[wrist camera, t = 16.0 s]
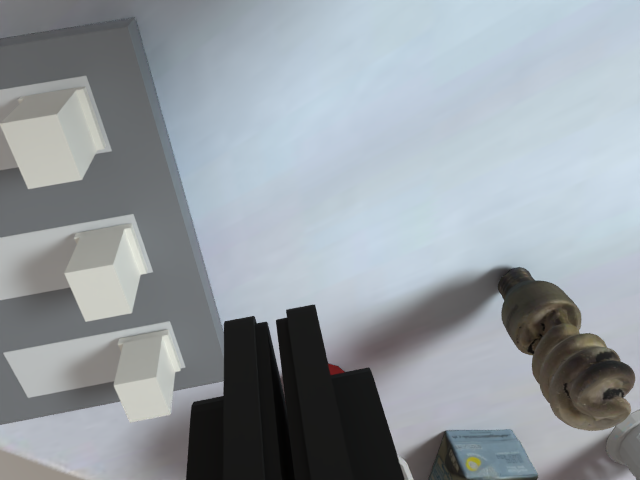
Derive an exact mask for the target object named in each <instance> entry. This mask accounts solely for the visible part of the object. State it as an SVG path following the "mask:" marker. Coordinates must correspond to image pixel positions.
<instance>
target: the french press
mask: <svg viewBox="0 0 640 480" xmlns="http://www.w3.org/2000/svg"><path fill="white" fill-rule="evenodd" d="M606 452H607V454H608V456H609V458H610V459H611V460H613V461H615V462H617V463H619V464H622V465H626V466H628V467H629V470H630V471H631V473H632V474H633V475H634V476H635V477H636V480H640V410H638V411H636V412H634V413H632V414H630V415H629V416H628V417H627V418H626V419H625V420H624V421H623V422H621V423H620V424H618V425H617V426H616V427H615V428H614V430H613V431H612V433H611V434H610V436H609V437H608V439H607V445H606Z"/></svg>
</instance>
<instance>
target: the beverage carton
mask: <svg viewBox="0 0 640 480" xmlns="http://www.w3.org/2000/svg"><path fill="white" fill-rule="evenodd" d="M537 478H538V474H537V472H536V470H535V468H534V467H533V465H532V463H531V462H530V460H529V458H528V456H527V454H526V452H525V450H524V448H523V447H522V445H521V442H520V441H519V440H518V439H517V438H516V436H515V435H514V433H513V431H512V430H510V429H506V430H461V431H460V430H455V431H446V432H445V434H444V437H443V440H442V443H441V446H440V448H439V451H438V454H437V457H436V459H435V462H434V465H433V468H432V471H431V474H430V477H429V480H537Z"/></svg>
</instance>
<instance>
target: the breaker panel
mask: <svg viewBox="0 0 640 480" xmlns="http://www.w3.org/2000/svg"><path fill="white" fill-rule="evenodd" d="M84 86H86V89H87V92H88V95H89V98H90V101H91V104H92V106H93V109H94V112H95V115H96V118H97V121H98V124H99V127H100V130H101V133H102V135H103V138H104V141H105V144H106V146H105V148H104V149H102V150H97V152H96V154H95V156H94V158H93V160H92V162H91V163H90V165H89V167H88V169H87V171H86V173H85V175H84V177H83V179H82V180H78V181H73V182H67V183H61V184H55V185H50V186H44V187H38V188H32V189H28V188H27V185H26V183H25V181H24V178H23V176H22V174H21V172H20V169H19V167H18V165H17V163H16V160H15V158H14V156H13V153H12V151H11V149H10V147H9V144H8V142H7V140H6V137H5V135H4V133H3V131H2V128H1V126H0V425H2V424H7V423H13V422H18V421H23V420H28V419H33V418H38V417H43V416H48V415H54V414H59V413H64V412H69V411H74V410H79V409H84V408H89V407H94V406H100V405H105V404H110V403H115V402H120V399H119V397H118V394H117V392H116V390H115V388H114V381H115V377H116V373H117V369H118V364H119V360H120V356H121V351H120V348H119V346H118V341H119V339H121V338H126V337H131V336H137V335H142V334H147V333H152V332H158V331H163V330H168V329H169V332H170V335H171V338H172V341H173V344H174V347H175V349H176V352H177V355H178V358H179V361H180V364H181V371H178V372H175V379H174V388H173V391H176V390H181V389H186V388H192V387H197V386H202V385H207V384H212V383H217V382H222V381H224V332H223V329H222V325H221V321H220V318H219V314H218V311H217V307H216V304H215V300H214V296H213V293H212V289H211V286H210V282H209V279H208V275H207V272H206V268H205V264H204V261H203V257H202V254H201V250H200V247H199V243H198V240H197V236H196V232H195V229H194V225H193V222H192V218H191V215H190V211H189V207H188V204H187V200H186V197H185V193H184V190H183V186H182V183H181V179H180V175H179V172H178V168H177V165H176V161H175V158H174V154H173V151H172V147H171V143H170V140H169V136H168V133H167V129H166V126H165V122H164V118H163V115H162V111H161V108H160V104H159V101H158V97H157V94H156V90H155V86H154V83H153V79H152V76H151V72H150V69H149V65H148V61H147V58H146V54H145V51H144V47H143V44H142V40H141V37H140V33H139V29H138V26H137V22H136V19H135V17H134V18H127V19H121V20H115V21H108V22H102V23H96V24H90V25H83V26H77V27H71V28H64V29H58V30H52V31H45V32H39V33H33V34H27V35H20V36H14V37H8V38H1V39H0V123H1V122H2V121H3V120H4V119H5V118H6V117H7V116H8V115H9V114H10V113H11V112H12V111H13V110H14V109H15V108H16V107H17V106H18V105H19V102H18V99H19V98H20V97H23V96H29V95H35V94H41V93H47V92H53V91H59V90H65V89H71V88H77V87H84ZM131 223H132V225H133V228H134V231H135V234H136V237H137V239H138V242H139V245H140V248H141V251H142V254H143V257H144V260H145V263H146V265H147V268H148V269H147V274H142V275H140V280H139V284H138V289H137V293H136V297H135V302H134V306H133V310H132V313H130V314H125V315H119V316H114V317H109V318H103V319H98V320H93V321H87V322H85V319H84V317H83V315H82V313H81V310H80V308H79V306H78V304H77V301H76V299H75V297H74V294H73V292H72V290H71V288H70V285H69V283H68V281H67V279H66V276H65V274H64V273H65V271H66V268H67V266H68V264H69V261H70V259H71V257H72V254H73V252H74V250H75V248H76V245H77V244H76V242H75V239H74V237H75V234H76V233H80V232H86V231H91V230H97V229H103V228H108V227H114V226H119V225H125V224H131Z"/></svg>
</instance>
